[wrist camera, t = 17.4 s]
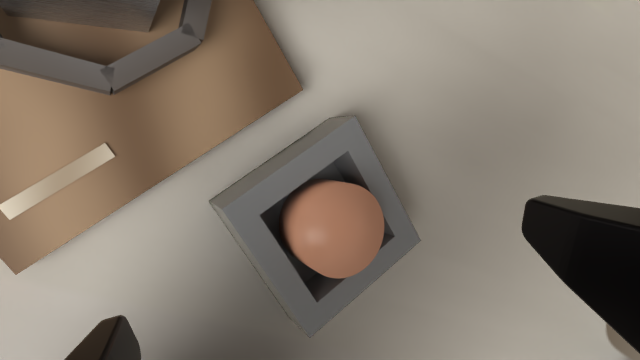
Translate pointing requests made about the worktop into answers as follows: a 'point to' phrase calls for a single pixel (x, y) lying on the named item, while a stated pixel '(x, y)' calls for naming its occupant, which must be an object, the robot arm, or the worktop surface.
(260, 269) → the button housing
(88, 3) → the billet
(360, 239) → the button
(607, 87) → the worktop surface
